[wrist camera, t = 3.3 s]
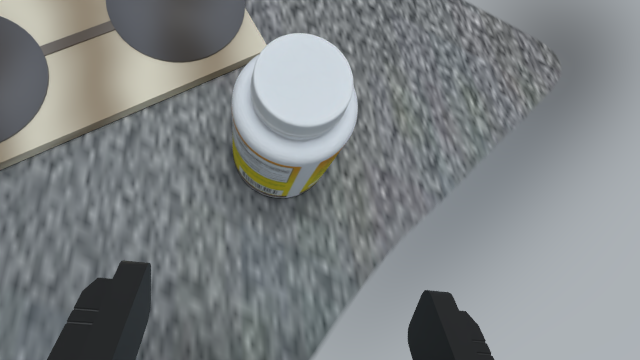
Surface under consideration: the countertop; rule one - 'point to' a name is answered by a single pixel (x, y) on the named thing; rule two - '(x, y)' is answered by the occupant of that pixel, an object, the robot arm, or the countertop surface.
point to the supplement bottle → (292, 114)
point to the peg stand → (107, 62)
